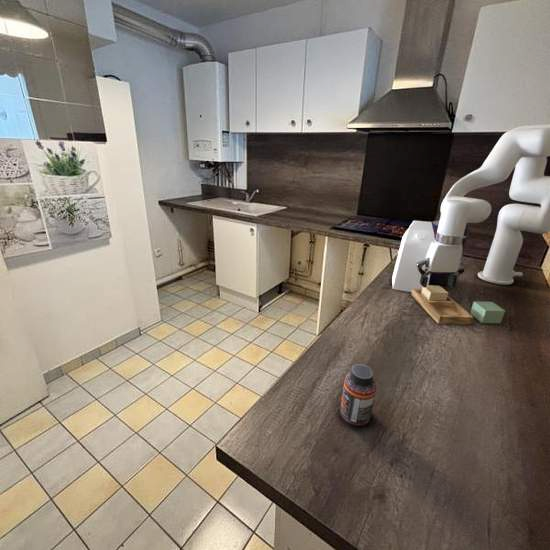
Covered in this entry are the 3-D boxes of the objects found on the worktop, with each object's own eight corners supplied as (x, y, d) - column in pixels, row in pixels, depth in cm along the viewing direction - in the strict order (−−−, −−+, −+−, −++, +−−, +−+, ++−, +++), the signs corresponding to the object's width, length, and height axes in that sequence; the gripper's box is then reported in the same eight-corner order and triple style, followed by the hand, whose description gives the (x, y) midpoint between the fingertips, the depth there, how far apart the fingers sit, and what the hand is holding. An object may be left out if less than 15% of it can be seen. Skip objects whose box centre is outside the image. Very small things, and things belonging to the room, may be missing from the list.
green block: (487, 313, 97) (492, 301, 95) (500, 323, 92) (505, 310, 90) (470, 313, 97) (473, 301, 95) (481, 322, 92) (485, 310, 90)
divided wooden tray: (438, 295, 109) (440, 289, 108) (471, 324, 91) (474, 317, 90) (411, 294, 109) (412, 288, 108) (438, 323, 91) (440, 316, 90)
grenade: (418, 283, 119) (435, 209, 108) (416, 272, 129) (432, 204, 118) (456, 289, 115) (478, 212, 103) (452, 278, 125) (472, 207, 113)
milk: (422, 282, 120) (438, 220, 110) (426, 294, 110) (443, 226, 100) (391, 278, 123) (403, 217, 113) (392, 289, 113) (405, 223, 103)
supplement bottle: (336, 403, 61) (342, 360, 57) (363, 402, 61) (371, 359, 57) (344, 428, 55) (352, 382, 51) (374, 426, 56) (384, 381, 52)
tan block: (436, 296, 107) (439, 285, 105) (445, 304, 101) (448, 292, 100) (420, 296, 107) (422, 285, 105) (428, 304, 101) (430, 292, 100)
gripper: (468, 236, 99) (455, 281, 106) (417, 235, 99) (407, 281, 106) (482, 242, 92) (467, 290, 99) (427, 242, 92) (416, 290, 99)
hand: (436, 285), depth 102 cm, fingers open, 9 cm apart
